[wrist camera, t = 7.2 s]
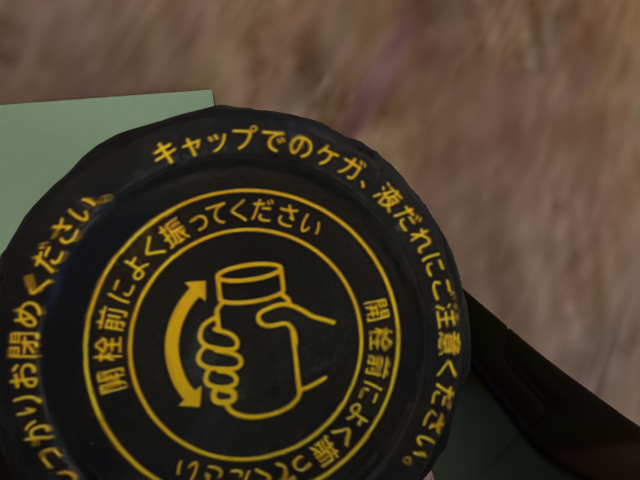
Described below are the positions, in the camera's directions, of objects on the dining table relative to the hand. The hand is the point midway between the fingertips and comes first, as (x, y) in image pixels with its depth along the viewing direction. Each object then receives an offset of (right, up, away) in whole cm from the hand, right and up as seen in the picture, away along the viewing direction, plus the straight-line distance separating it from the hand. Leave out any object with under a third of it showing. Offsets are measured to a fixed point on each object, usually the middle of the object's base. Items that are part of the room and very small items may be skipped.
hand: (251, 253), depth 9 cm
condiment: (-2, -2, +7) cm, 7 cm away
